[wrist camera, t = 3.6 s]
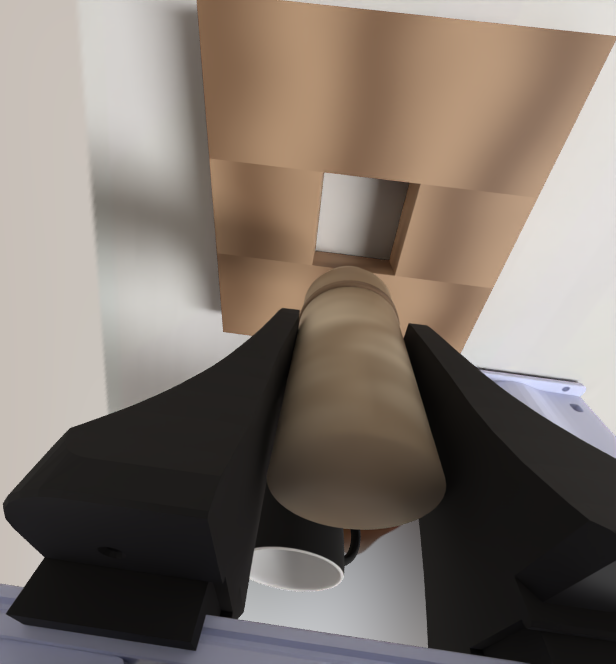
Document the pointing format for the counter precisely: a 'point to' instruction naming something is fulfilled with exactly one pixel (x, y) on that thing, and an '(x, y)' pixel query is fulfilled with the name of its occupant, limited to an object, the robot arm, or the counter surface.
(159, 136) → the counter surface
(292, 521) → the mug
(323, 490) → the peg
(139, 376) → the counter surface
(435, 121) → the board
